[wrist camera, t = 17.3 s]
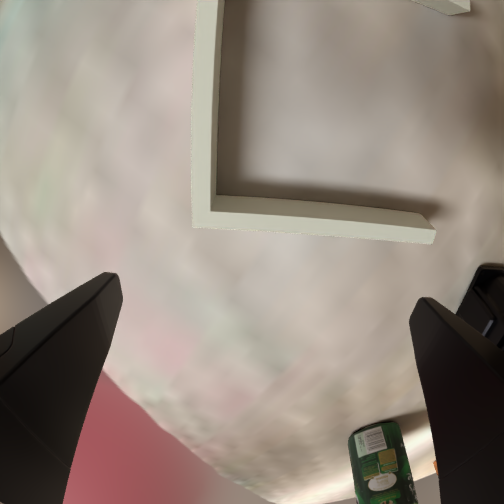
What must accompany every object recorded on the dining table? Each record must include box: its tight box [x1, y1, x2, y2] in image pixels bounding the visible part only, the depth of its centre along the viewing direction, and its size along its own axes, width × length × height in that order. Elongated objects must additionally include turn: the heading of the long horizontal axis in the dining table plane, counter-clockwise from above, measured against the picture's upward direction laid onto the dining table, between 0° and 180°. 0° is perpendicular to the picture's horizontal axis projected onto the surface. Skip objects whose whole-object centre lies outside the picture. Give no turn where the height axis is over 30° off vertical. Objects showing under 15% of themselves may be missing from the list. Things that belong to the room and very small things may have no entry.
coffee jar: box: [348, 422, 418, 504], centre depth 28 cm, size 10×8×19 cm
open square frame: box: [191, 0, 470, 244], centre depth 14 cm, size 14×16×2 cm
